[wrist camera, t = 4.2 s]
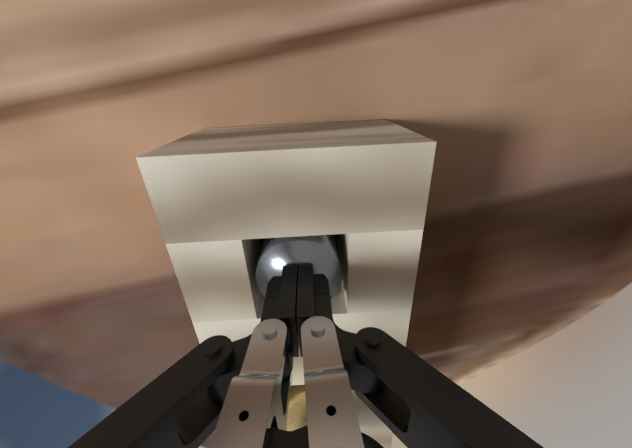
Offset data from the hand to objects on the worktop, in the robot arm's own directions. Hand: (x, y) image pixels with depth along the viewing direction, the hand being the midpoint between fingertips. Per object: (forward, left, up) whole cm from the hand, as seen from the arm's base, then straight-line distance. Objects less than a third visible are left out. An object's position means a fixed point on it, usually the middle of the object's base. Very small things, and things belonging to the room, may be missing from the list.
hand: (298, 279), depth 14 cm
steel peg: (0, 0, -8) cm, 8 cm away
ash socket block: (+5, 0, -8) cm, 10 cm away
